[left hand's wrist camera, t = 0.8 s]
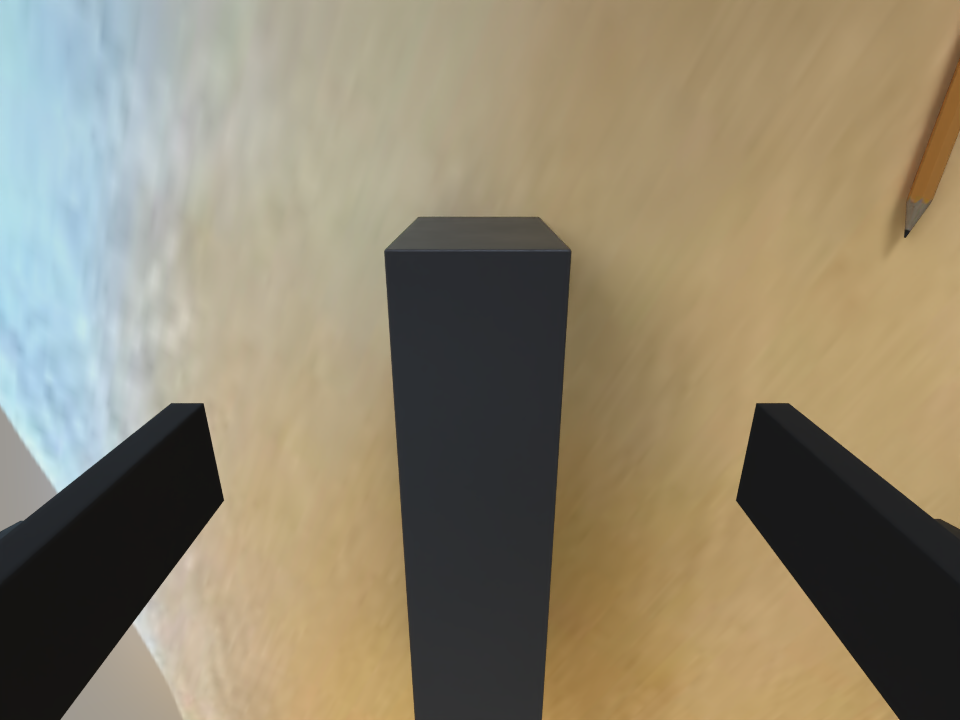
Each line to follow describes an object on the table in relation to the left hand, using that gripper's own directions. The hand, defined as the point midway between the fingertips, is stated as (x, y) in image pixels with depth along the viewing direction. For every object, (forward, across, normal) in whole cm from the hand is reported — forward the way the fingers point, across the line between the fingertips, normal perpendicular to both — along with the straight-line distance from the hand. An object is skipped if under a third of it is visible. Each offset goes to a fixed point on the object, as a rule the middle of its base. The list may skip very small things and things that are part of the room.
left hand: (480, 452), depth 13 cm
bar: (+15, 0, -11) cm, 18 cm away
